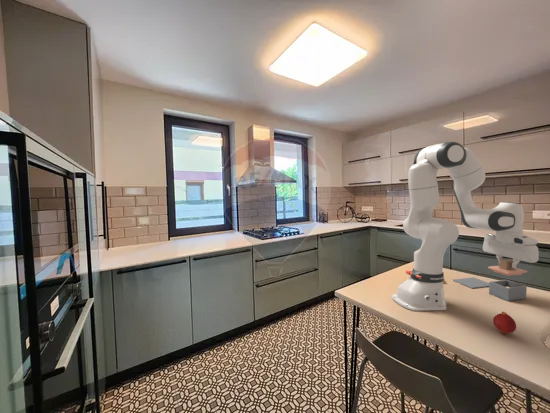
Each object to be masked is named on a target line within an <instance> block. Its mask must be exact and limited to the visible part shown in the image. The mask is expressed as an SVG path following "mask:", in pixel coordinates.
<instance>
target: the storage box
mask: <svg viewBox="0 0 550 413" xmlns="http://www.w3.org/2000/svg"><path fill="white" fill-rule="evenodd" d="M488 283H489V287H488V294H489V295H491V296H493V295H494V297H497V298H499V299H501V300H503V301H506V302H514V301H521V300H527V289H528V287H527V285H524V284H521V283H517V282H514V281H511V280H508V279H502V280H501V279H500V280H494V281H493V280H492V281H489V282H488Z"/></svg>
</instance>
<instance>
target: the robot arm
mask: <svg viewBox="0 0 550 413" xmlns="http://www.w3.org/2000/svg"><path fill="white" fill-rule="evenodd" d="M442 169H443V170H444V169H447V170H448V172H449V174H450V176H451V178H452V179H453V180H452V181H453V183H454V184H453V186H452V188H453V189H452V190H453V193H454V197H455V200H456V202H457V205H458V207H459V212H460V219H461V222H462V224H463V225H464V226H465V227H466V228H469V229H475V230H477V229H479V230H485V231H493V232H495V234H493V233H487V234H485V235H484V240H483V245H482V250H483V252H485V253H489V254H492V255H495V258H496V259H497V261H498V263H499V262H500V260H502V259H503V257H505V258H508V259H512V260H513V261H514V262H513V263H512V264H510V267H511V268H517V265H518V264H519V263H520V262H525V263H530V264H531V263H532V264H533V263H537V262H538V261H539V257H540V256H539V255H540V253H539V252H540V251H539V247H538V246H537V244H538V240H537V239H536V238H534V237H531V236H528V235H527V234H524V229H523V225H524V221H525V212H524V207H523V205H522V204H520V203H518V202H510V201H501V202H499V203H498V205H496V206H494V207H493V208H491V209H490V208H489V209H488V208H487V209H486V208H485V209H484V208H479V207H478V206H476V205H475V202H474V200H473V197H472V194H471V192H472V191H473V190H475V189H477V188H479V187H481V185H482V184H483V183H484V182H486V181H485V180H486V176H487V175H486V172H485V170H484V168H483V166H482V163H481V162H480V160H479V159H478V157H477V156H476V155H475V153H473V151H472V150H471V149H470V148H468V147H464V146H463V145H462V144H461V143H459V142H456V141H447V142H443V143H435V144H432V145H429V146H425V147H423V148H421V149H419V150H417V152H416V153H415V155H414V158H413V164H412V165H411V166H410V167H409V169H408V176H407V178H408V179H407V181H408V182H407V183H408V184H407V185H408V193H409V202H410V207H409V212H408V213H409V214H408V216H407V217H406V218H405V219H404V221H403V224H402V229H403V231H404V232H405V233H406V234H407V235H409V236H410V237H412V238H414V239H418V240H421V246H420V248H418V249H417V250H415V253H414V252H413V267H412V270H410V269H405V274H406V275H409V277H408V278H407V279H406V280H404V281H403V282H401V284H399V285H398V287H397V293H393V294H391V299H392V301H394V302H395V303H396V304H398V305H399V306H401V307H403V308H405V309H408V310H409V311H413V312H414V311H447V308H448V307H447V300H446V297H445V290H444V284H443V281H444V279H445V275H444V271H443V265H444V255H445V253H446V250H447V248H448V247H449V246H450V245H452V244H454V243H455V242H457V240H458V238H459V235H460V230H459V227H458V225H457V224H455V223H454V222H452V221H450V220H447V219H444V218H439V217H438V218H437V217H433V212H434V209H435V208H436V207H438V206H439V204H440V192H439V184H438V180H437V173H438V172H439V170H442Z"/></svg>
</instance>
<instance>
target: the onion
mask: <svg viewBox="0 0 550 413" xmlns="http://www.w3.org/2000/svg"><path fill="white" fill-rule="evenodd" d="M492 322H493V325H494V327H495V328H496V329H497V330H498V331H499V332H500V333H502V334H504V335H508V334H509V335H510V334H512V333H514V332H515V331H516V329H517V323H516V320H514V318H512V316H511V315H509V314H508V313H507V312H506V311H501V313H497V314H495V316H493V318H492Z"/></svg>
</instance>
